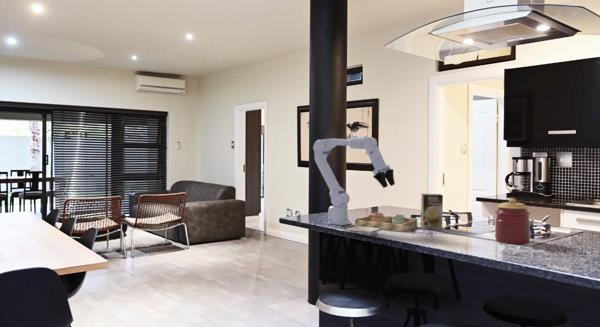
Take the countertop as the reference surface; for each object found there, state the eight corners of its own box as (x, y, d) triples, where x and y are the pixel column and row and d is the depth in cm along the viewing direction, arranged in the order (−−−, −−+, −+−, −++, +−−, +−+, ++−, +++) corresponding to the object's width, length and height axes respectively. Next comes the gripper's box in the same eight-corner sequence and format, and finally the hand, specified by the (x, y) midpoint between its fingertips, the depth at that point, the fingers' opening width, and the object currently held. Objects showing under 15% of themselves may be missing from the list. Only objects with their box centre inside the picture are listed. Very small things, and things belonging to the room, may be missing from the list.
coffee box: (422, 229, 216) (422, 195, 216) (420, 227, 223) (420, 193, 222) (442, 229, 215) (442, 195, 215) (440, 227, 222) (440, 193, 221)
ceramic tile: (347, 229, 216) (347, 228, 216) (357, 227, 224) (357, 225, 224) (370, 232, 209) (370, 231, 209) (380, 229, 216) (380, 228, 216)
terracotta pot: (368, 226, 226) (368, 213, 226) (374, 224, 231) (374, 212, 231) (379, 227, 222) (379, 214, 222) (385, 225, 227) (385, 213, 227)
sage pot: (389, 228, 219) (389, 215, 219) (394, 226, 224) (394, 214, 224) (400, 229, 216) (400, 216, 215) (406, 228, 220) (406, 215, 220)
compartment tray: (355, 226, 226) (354, 218, 226) (370, 222, 238) (370, 214, 238) (403, 231, 210) (403, 223, 210) (417, 227, 222) (417, 218, 222)
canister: (515, 245, 179) (515, 200, 178) (488, 240, 191) (488, 197, 190) (537, 242, 185) (537, 198, 184) (509, 236, 197) (509, 195, 196)
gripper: (376, 157, 214) (389, 184, 212) (390, 155, 226) (402, 180, 223) (365, 164, 218) (377, 190, 216) (379, 161, 230) (390, 186, 227)
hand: (389, 186), depth 220 cm, fingers open, 7 cm apart
